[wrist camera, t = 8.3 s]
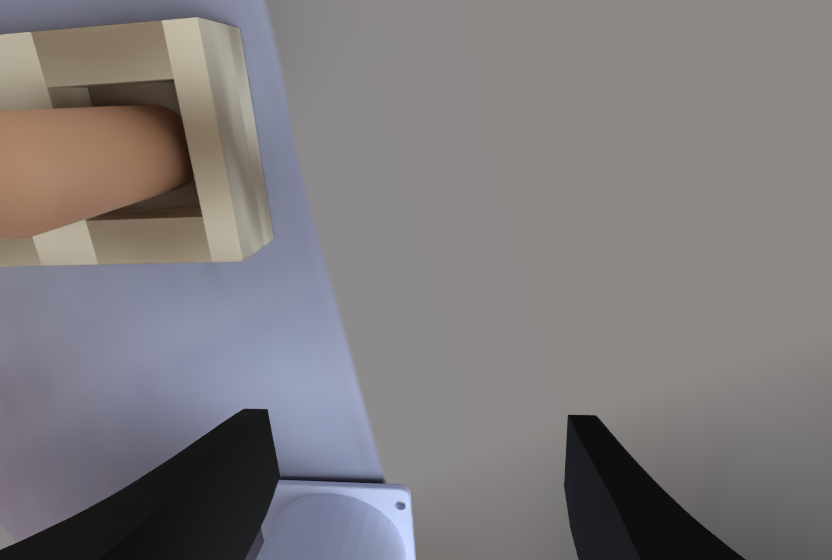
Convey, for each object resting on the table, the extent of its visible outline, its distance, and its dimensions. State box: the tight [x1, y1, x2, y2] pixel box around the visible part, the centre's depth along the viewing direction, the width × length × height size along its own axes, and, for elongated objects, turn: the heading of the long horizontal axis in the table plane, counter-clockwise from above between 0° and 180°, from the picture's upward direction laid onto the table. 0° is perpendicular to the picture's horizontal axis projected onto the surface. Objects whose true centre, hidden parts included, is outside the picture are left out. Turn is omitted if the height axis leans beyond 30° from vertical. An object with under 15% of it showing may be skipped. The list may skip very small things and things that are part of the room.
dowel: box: [0, 104, 194, 239], centre depth 16 cm, size 3×3×7 cm
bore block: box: [0, 17, 274, 267], centre depth 19 cm, size 8×14×3 cm, turn 93°
